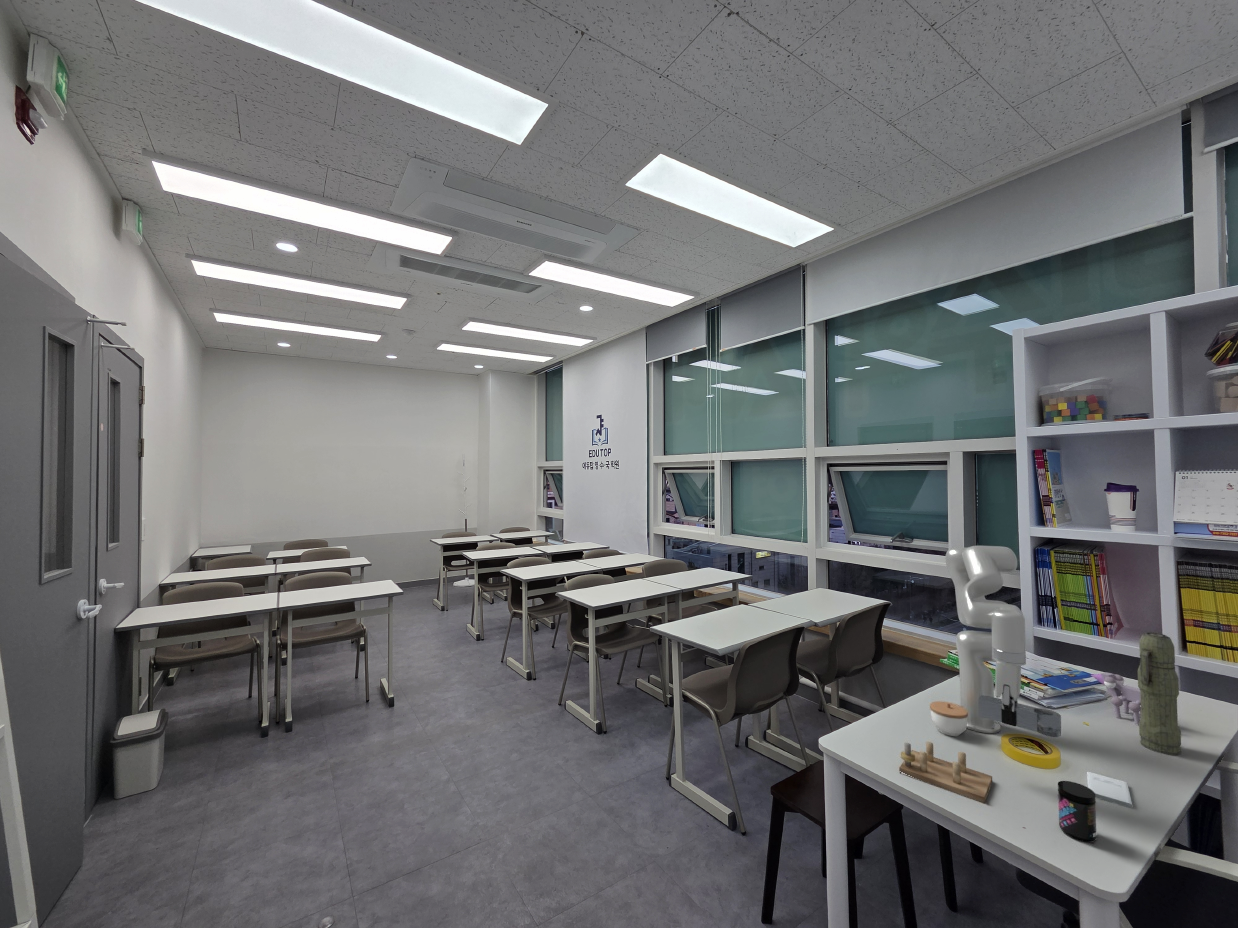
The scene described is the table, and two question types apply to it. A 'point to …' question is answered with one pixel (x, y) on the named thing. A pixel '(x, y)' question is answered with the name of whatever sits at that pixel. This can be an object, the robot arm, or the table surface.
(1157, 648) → the moai statue
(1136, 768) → the table surface
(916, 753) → the rack
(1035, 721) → the grey long block
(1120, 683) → the purple toy animal
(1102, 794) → the external hard drive
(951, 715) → the lidded jar
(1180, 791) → the table surface
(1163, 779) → the table surface
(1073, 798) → the supplement container
